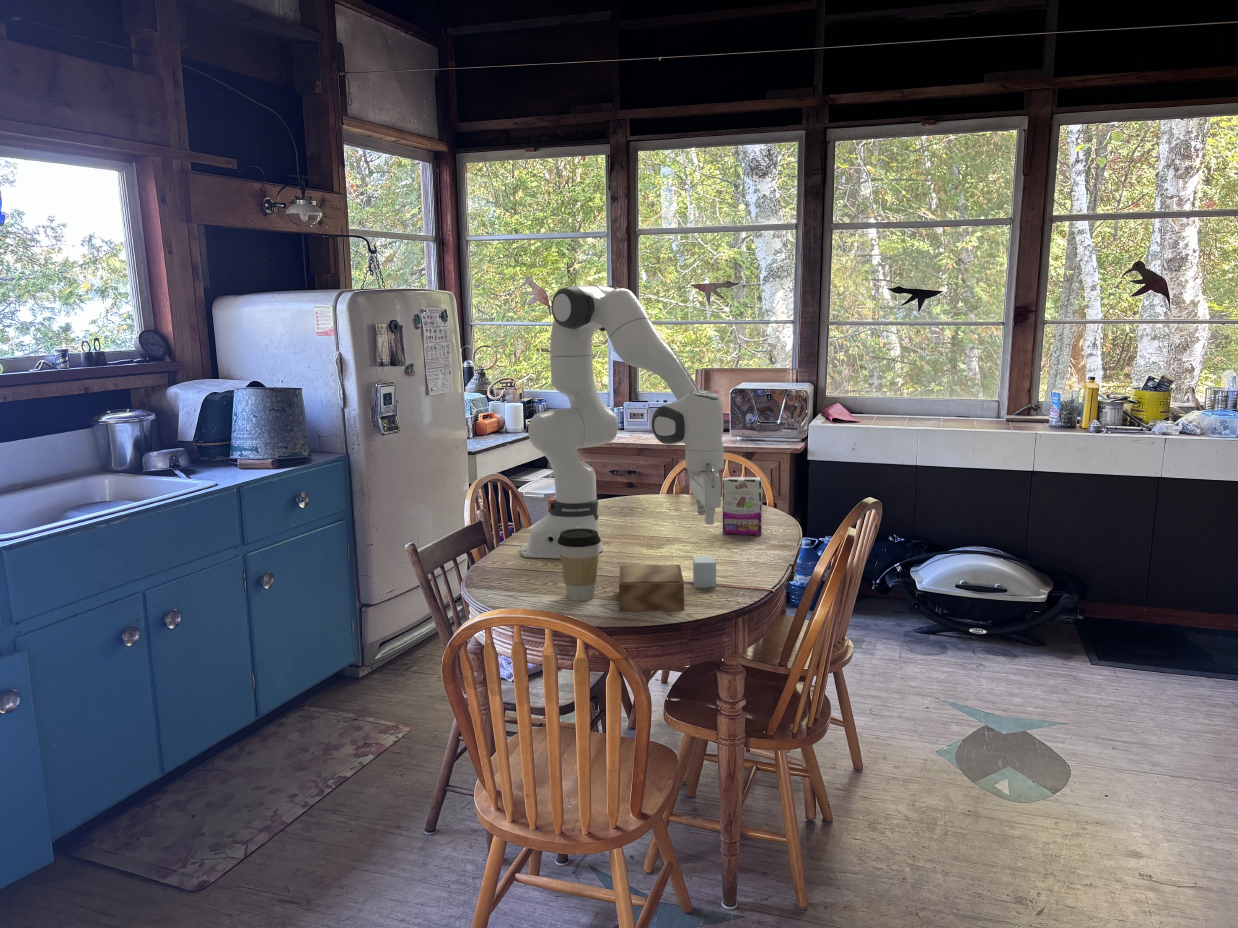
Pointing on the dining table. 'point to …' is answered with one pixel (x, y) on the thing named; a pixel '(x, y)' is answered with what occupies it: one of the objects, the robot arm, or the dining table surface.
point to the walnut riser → (651, 588)
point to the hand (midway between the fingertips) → (705, 519)
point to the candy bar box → (742, 506)
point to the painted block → (704, 571)
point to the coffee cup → (579, 562)
